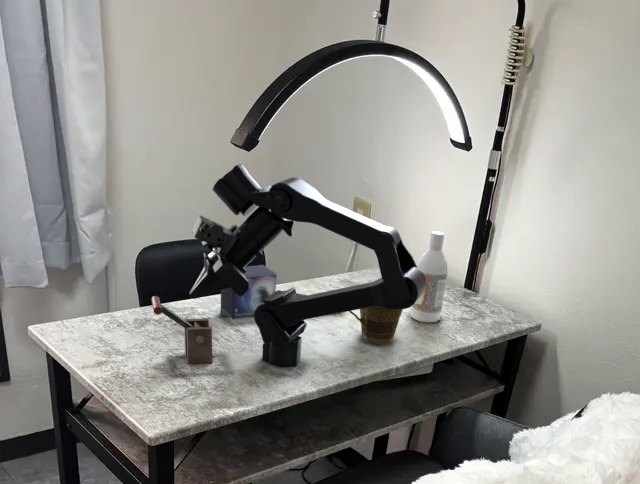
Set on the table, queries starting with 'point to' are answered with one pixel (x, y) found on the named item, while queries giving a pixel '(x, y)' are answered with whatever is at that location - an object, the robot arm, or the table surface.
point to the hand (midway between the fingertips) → (191, 296)
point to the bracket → (198, 342)
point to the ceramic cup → (378, 324)
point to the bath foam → (432, 281)
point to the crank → (170, 313)
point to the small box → (249, 293)
